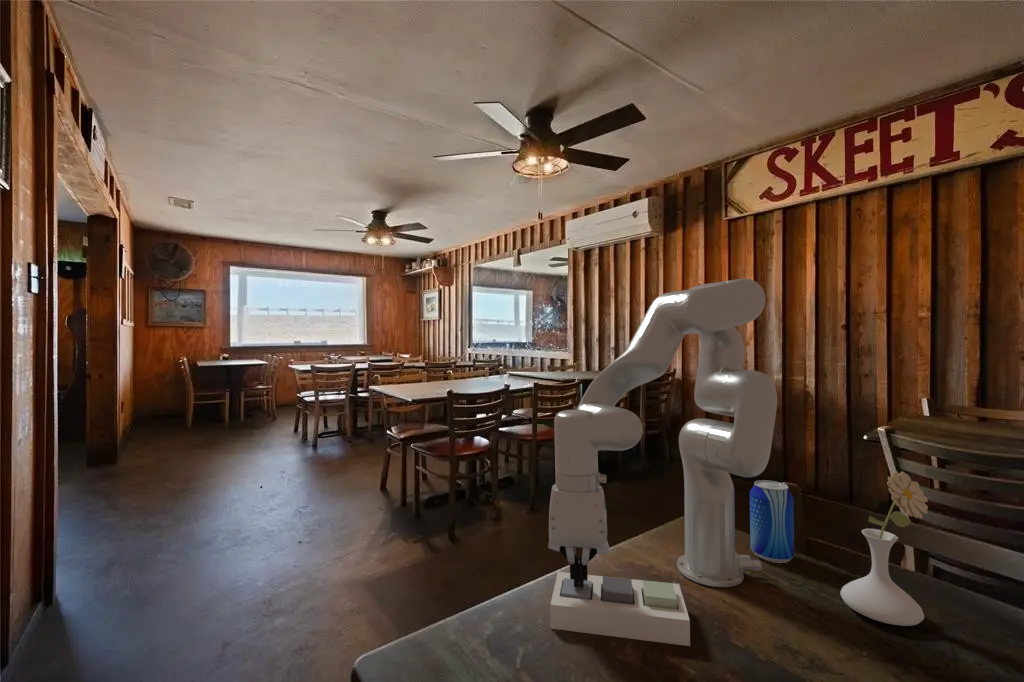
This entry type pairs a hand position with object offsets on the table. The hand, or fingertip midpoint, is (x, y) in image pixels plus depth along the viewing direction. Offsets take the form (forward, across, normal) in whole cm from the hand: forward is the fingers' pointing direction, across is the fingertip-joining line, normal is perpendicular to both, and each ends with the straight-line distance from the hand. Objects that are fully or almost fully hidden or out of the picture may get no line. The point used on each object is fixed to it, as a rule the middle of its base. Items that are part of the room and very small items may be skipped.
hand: (579, 583), depth 80 cm
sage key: (+3, -14, 0) cm, 14 cm away
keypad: (+5, -6, 0) cm, 8 cm away
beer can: (+6, -40, -29) cm, 50 cm away
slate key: (+4, 0, 0) cm, 4 cm away
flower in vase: (+6, -52, -10) cm, 54 cm away
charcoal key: (+3, -7, 0) cm, 7 cm away
